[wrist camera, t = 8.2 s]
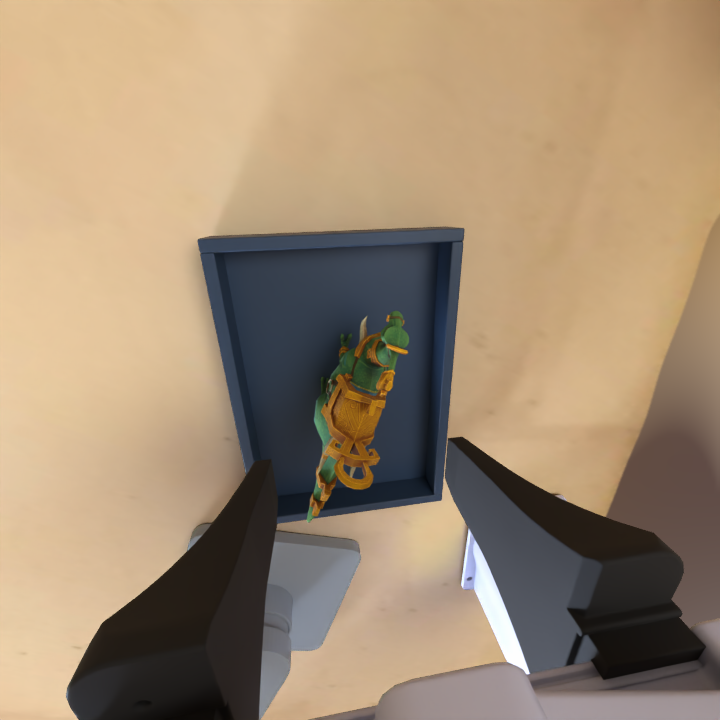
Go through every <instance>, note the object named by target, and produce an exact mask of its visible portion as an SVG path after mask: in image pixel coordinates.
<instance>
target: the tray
mask: <svg viewBox="0 0 720 720" xmlns="http://www.w3.org/2000/svg"><path fill="white" fill-rule="evenodd" d="M463 240H464V228H455V227H428V228H402V229H377V230H352V231H327V232H302V233H277V234H252V235H227V236H209V237H205V238H201V239H198V245H199V250H200V253H201V254H200V256H201V260H202V265H203V270H204V275H205V280H206V285H207V289H208V294H209V299H210V304H211V309H212V313H213V318H214V323H215V328H216V333H217V337H218V342H219V347H220V352H221V357H222V361H223V366H224V371H225V376H226V381H227V386H228V390H229V395H230V400H231V405H232V410H233V414H234V419H235V424H236V429H237V434H238V438H239V443H240V448H241V453H242V458H243V462H244V467H245V472H246V475H247V473H248V471H249V469H250V468H251V466H252V464H253V463H254V462H255V461H259V460H267V459H271V460H272V466H273V472H274V478H275V484H276V490H277V496H278V511H277V524H278V523H285V522H292V521H300V520H307V516H308V511H309V507H310V499H311V496H312V493H314V489H315V485H316V480H317V477H316V470H317V467H318V466H319V464H320V460H321V457H322V450H323V441H322V439H321V437H320V435H319V433H318V431H317V428H316V425H315V422H314V417H315V407H316V400H317V399H318V397H319V396H320V395H321V377H324V383H325V381H326V379H327V378H329V380H330V377H331V374H332V373H333V372H334V371H335V369H336V368H337V367H338V365H339V364H340V358H339V353H340V352H339V350H340V348H342V344H341V334H343V335H344V340H346V338H347V336H348V334H351V333H352V337H351V340H350V341H349V345H348V348H349V350H351V349H353V348H356V347H357V346H358V344H359V340H360V325H361V322H362V320H363V319H364V318H365V317H366V316H367V319H366V330H367V336H369V335H372V334H376V333H379V332H381V331H382V330H383V328H384V327H385V326H387V325H388V324H389V321H388V322H387V321H386V319H387V316H388V315H390V313H391V312H393V311H399V312H400V313H401V314H402V316H403V320H404V324H403V326H402V329H403V330H404V331H405V332H406V333H407V334H408V337H409V343H408V345H407V346H406V347H405V348H404V350H407V351H408V353H407V354H401V353H399V355H398V357H397V361H396V365H395V370H394V372H395V375H394V377H393V387H392V388H391V390H390V391H388V392H387V395H386V402H385V408H383V409H382V412H381V416H380V418H379V421H378V423H377V426H376V427H375V430H374V437H373V439H372V441H371V443H370V444H369V445H367V446H366V447H365V449H366V451H367V452H368V450H369V449H375V451H376V452H377V454H378V456H379V457H380V459H379V461H378V462H377V464H376V465H371V466H368V467H369V469H370V470H371V472H372V474H373V482H372V484H371V485H370V487H368V488H365V489H352V488H349V487H347V486H346V485H344V484H343V483H342V482H341V481H340V480H339V478H338V477H337V480H336V484H335V486H334V488H333V489H332V490H331V494H330V496H329V498H328V499H327V501H325V503H324V506H323V508H321V509H320V511H319V514H318V516H315V517H314V518H321V517H328V516H335V515H342V514H349V513H356V512H363V511H370V510H377V509H384V508H392V507H399V506H406V505H413V504H420V503H427V502H434V501H441V500H442V489H443V477H444V465H445V453H446V441H447V429H448V418H449V406H450V394H451V382H452V370H453V358H454V346H455V335H456V323H457V311H458V299H459V287H460V275H461V263H462V252H463V242H462V241H463ZM387 369H388V367H387ZM350 454H352V452H351V453H350ZM343 469H344V471H345V472H346V474H347V475H349V476H350V466H348V465H346V464H343ZM352 478H354V479H360V480H361V479H363V478H364V474H363V470H362V467H356V468H355V471H354V473H353V476H352ZM314 518H313V519H314Z"/></svg>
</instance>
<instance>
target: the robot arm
mask: <svg viewBox="0 0 720 720" xmlns="http://www.w3.org/2000/svg"><path fill="white" fill-rule="evenodd" d="M445 479H446V482H447V484H448V487H449V490H450V492H451V495H452V497H453V500H454V502H455V504H456V506H457V507H458V509H459V511H460V513H461V515H462V517H463V519H464V520H465V522H466V524H467V526H468V528H469V529H468V537H467V544H466V552H465V560H464V567H463V575H462V582H461V585H462V587H463V589H465V590H470V589H475V592H476V594H477V596H478V598H479V600H480V603H481V605H482V607H483V609H484V612H485V614H486V616H487V618H488V620H489V623H490V625H491V627H492V629H493V632H494V634H495V636H496V638H497V640H498V643H499V645H500V647H501V649H502V652H503V654H504V656H505V658H506V660H507V662H502V663H490V664H485V665H480V666H475V667H470V668H465V669H460V670H455V671H450V672H445V673H440V674H435V675H430V676H425V677H420V678H415V679H411V680H408V681H406V682H403V683H400V684H397V685H395V686H393V687H392V688H391V689H389V690H388V691H387V692H386V693H384V694H383V695H382V697H381V699H380V701H379V703H378V705H377V706H372V707H367V708H362V709H357V710H353V711H348V712H343V713H338V714H333V715H329V716H324V717H319V718H314V719H309V720H720V618H719V619H714V620H709V621H704V622H700V623H697V624H695V625H694V626H692V627H691V628H690V629H689V628H688V627H687V625H685V623H684V622H683V621H682V620H681V619H680V618H679V617H681V615H682V611H681V610H680V609H679V607H678V606H677V605H675V603H674V602H673V601H672V600H671V598H672V597H673V595H674V593H675V591H676V589H677V587H678V585H679V583H680V581H681V579H682V576H683V573H684V569H683V562H682V560H681V558H680V557H679V556H678V555H677V554H676V553H675V552H674V551H673V550H672V549H670V548H669V547H668V546H667V545H666V544H665V543H664V542H663V541H662V540H661V539H660V538H658V537H657V536H656V535H655V534H654V533H652V532H649V531H646V530H642V529H639V528H636V527H633V526H630V525H626V524H623V523H620V522H617V521H614V520H611V519H609V518H606V517H603V516H601V515H598V514H595V513H593V512H590V511H588V510H585V509H583V508H581V507H578V506H576V505H574V504H572V503H569V502H567V501H566V498H565V497H564V496H563V495H555V496H554V495H552V494H550V493H549V492H547V491H545V490H543V489H541V488H539V487H537V486H535V485H534V484H532V483H530V482H528V481H527V480H525V479H523V478H522V477H520V476H519V475H517V474H515V473H514V472H512V471H511V470H509V469H507V468H506V467H504V466H503V465H501V464H500V463H499V462H497V461H496V460H494V459H493V458H491V457H490V456H489V455H487V454H486V453H484V452H483V451H482V450H480V449H479V448H477V447H476V446H475V445H473V444H472V443H470V442H469V441H468V440H466V439H465V438H463V437H456V438H448V446H447V458H446V469H445ZM277 511H278V496H277V490H276V484H275V478H274V472H273V466H272V460H271V459H267V460H259V461H255V462H254V463H253V464H252V466H251V468H250V469H249V471H248V473H247V475H246V476H245V478H244V479H243V481H242V483H241V484H240V486H239V487H238V489H237V490H236V492H235V493H234V495H233V496H232V498H231V499H230V500H229V502H228V503H227V505H226V506H225V507H224V509H223V510H222V511H221V513H220V514H219V515H218V517H217V518H216V519H215V520H214V522H213V523H212V524H211V525H210V527H209V528H208V529H207V530H206V531H205V533H204V534H203V535H202V536H201V537H200V538H199V539H198V540H197V542H196V543H195V544H194V545H193V546H192V547H191V548H190V549H189V550H188V551H187V552H186V553H185V554H184V555H183V556H182V557H181V558H180V559H179V560H178V561H177V562H176V563H175V564H174V565H173V566H172V567H171V568H170V569H169V570H168V571H167V572H165V573H164V574H163V575H162V576H161V577H160V578H159V579H158V580H156V581H155V582H154V583H153V584H152V585H150V586H149V587H148V588H147V589H146V590H145V591H143V592H142V593H141V594H140V595H138V596H137V597H136V598H135V599H133V600H132V601H131V602H129V603H128V604H127V605H125V606H124V607H123V608H121V609H120V610H119V611H118V612H116V613H115V614H114V615H112V616H111V617H110V618H108V619H107V620H105V621H104V622H103V623H102V624H101V626H100V628H99V629H98V631H97V633H96V634H95V636H94V637H93V639H92V641H91V642H90V644H89V646H88V648H87V650H86V652H85V654H84V656H83V658H82V660H81V662H80V664H79V666H78V668H77V669H76V671H75V673H74V675H73V677H72V679H71V681H70V683H69V685H68V687H67V693H66V698H67V700H68V703H69V705H70V708H71V709H72V711H73V712H74V714H75V715H76V717H77V718H78V719H79V720H259V706H260V684H261V664H262V646H263V629H264V615H265V600H266V591H267V583H268V577H269V570H270V564H271V558H272V552H273V546H274V540H275V533H276V527H277Z"/></svg>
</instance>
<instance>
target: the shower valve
mask: <svg viewBox="0 0 720 720" xmlns="http://www.w3.org/2000/svg"><path fill="white" fill-rule="evenodd" d="M210 525H211V524H202V525H199V526H198V527H196V528H195V530H194V531H193V533H192V536H191V539H190V542H189V545H188V550H189V549H190V548H191V547H192V546H193V545H194V544H195V543H196V542H197V540H198V539H199V538H200V537H201V536H202V535H203V534H204V533H205V531H206V530H207V529H208V528H209V527H210ZM188 550H187V551H188ZM360 560H361V555H360V549H359V544H358V543H357V542H356V541H353V540H350V539H342V538H333V537H324V536H316V535H307V534H298V533H290V532H281V531H276V533H275V540H274V546H273V552H272V558H271V564H270V570H269V577H268V583H267V591H266V600H265V615H264V629H263V646H262V664H261V684H260V706H259V720H261V718H262V716H263V715H264V713H265V712H266V710H267V708H268V707H269V705H270V703H271V702H272V700H273V699H274V697H275V695H276V694H277V692H278V691H279V689H280V687H281V686H282V684H283V683H284V681H285V680H286V678H287V676H288V674H289V671H290V662H291V650H292V651H311V650H315V649H318V648H319V647H320V646H321V645H322V644H323V642H324V640H325V637H326V635H327V633H328V631H329V629H330V626H331V624H332V622H333V620H334V618H335V616H336V613H337V611H338V609H339V607H340V605H341V602H342V600H343V598H344V596H345V594H346V591H347V589H348V587H349V585H350V583H351V580H352V578H353V576H354V574H355V572H356V569H357V567H358V565H359V563H360Z"/></svg>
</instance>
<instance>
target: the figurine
mask: <svg viewBox="0 0 720 720" xmlns="http://www.w3.org/2000/svg"><path fill="white" fill-rule="evenodd" d="M366 319H367V316H366V317H365V318H364V319H363V320H362V322H361V325H360V340H359V344H358V346H357V347H356V348H353V349H351V350H349V348H348V345H349V341H350V340H351V337H352V333H351V334H348V336H347V338H346V340H344V335H343V334H341V344H342V348H340V350H339V352H340V353H339V358H340V364H339V365H338V367H337V368H336V369H335V371H334V372H333V373H332V374H331V377H330V380H329V378H327V379H326V381H325V383H324V377H321V395H320V396H319V397H318V399H317V400H316V407H315V417H314V422H315V425H316V428H317V431H318V433H319V435H320V437H321V439H322V441H323V450H322V457H321V460H320V464H319V466H318V467H317V470H316V477H317V480H316V485H315V489H314V493H312V496H311V499H310V507H309V511H308V516H307V521H308V523H309V522H310V521H311V520H312V519H313V518H314V517H315V516H318V514H319V511H320V509H321V508H323V506H324V503H325V501H327V499H328V498H329V496H330V494H331V490H332V489H333V488H334V486H335V484H336V480H337V477H338V478H339V480H340V481H341V482H342V483H343V484H344V485H346V486H347V487H349V488H352V489H365V488H368V487H370V485H371V484H372V482H373V474H372V472H371V470H370V469H369V467H368V466H371V465H376V464H377V462H378V461H379V459H380V457H379V456H378V454H377V452H376V451H375V449H369V450H368V452H367V451H366V449H365V447H366V446H367V445H369V444H370V443H371V441H372V439H373V437H374V430H375V427H376V426H377V423H378V421H379V418H380V416H381V412H382V409H383V408H385V402H386V395H387V392H388V391H390V390H391V388H392V387H393V377H394V375H395V372H394V370H395V365H396V361H397V357H398V355H399V353H401V354H407V353H408V351H407V350H404V348H405V347H406V346H407V345H408V343H409V337H408V334H407V333H406V332H405V331H404V330H403V329H402V326H403V324H404V320H403V316H402V314H401V313H400V312H399V311H393V312H391V313H390V315H388V316H387V319H386V321H387V322H388V321H389V324H388V325H387V326H385V327H384V328H383V330H382V331H381V332H379V333H376V334H372V335H369V336H367V330H366ZM387 367H388V369H387ZM351 452H352V454H350V453H351ZM343 464H346V465H348V466H350V476H349V475H347V474H346V472H345V471H344V469H343ZM356 467H362V470H363V474H364V478H363V479H361V480H360V479H354V478H352V476H353V473H354V471H355V468H356Z"/></svg>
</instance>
